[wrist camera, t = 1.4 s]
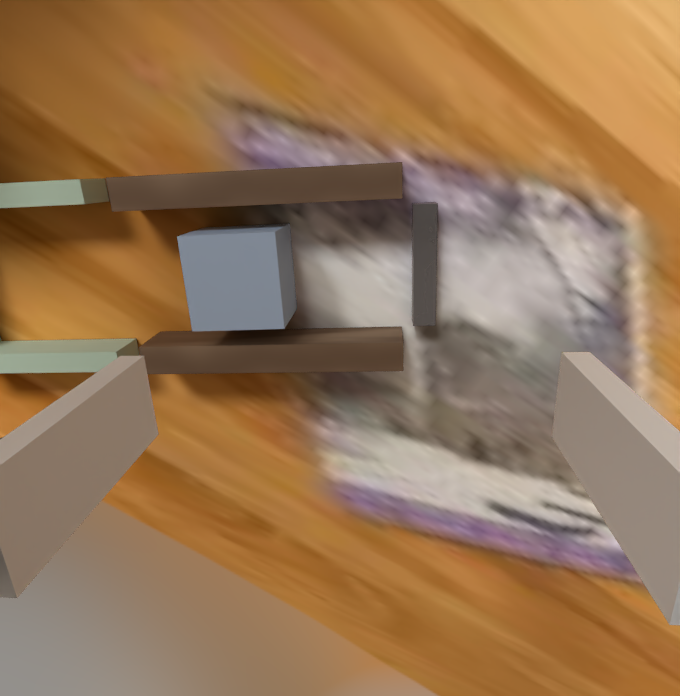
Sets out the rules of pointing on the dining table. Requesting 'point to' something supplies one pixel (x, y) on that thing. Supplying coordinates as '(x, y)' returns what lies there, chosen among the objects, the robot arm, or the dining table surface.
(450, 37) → the dining table surface
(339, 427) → the dining table surface
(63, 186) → the frame
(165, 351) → the channel
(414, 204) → the bar
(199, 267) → the block
